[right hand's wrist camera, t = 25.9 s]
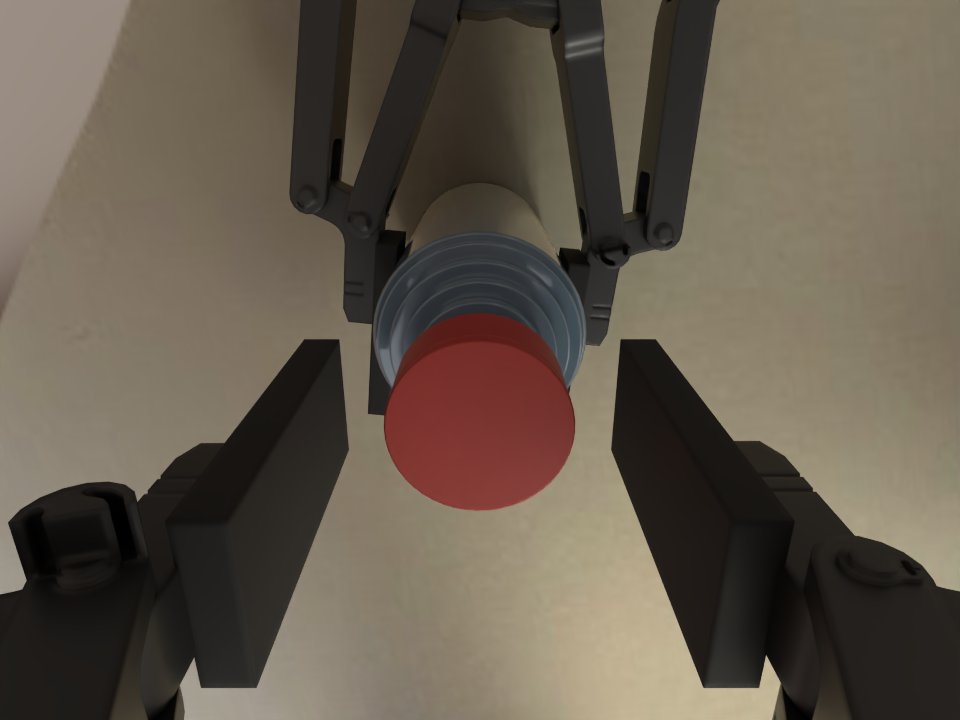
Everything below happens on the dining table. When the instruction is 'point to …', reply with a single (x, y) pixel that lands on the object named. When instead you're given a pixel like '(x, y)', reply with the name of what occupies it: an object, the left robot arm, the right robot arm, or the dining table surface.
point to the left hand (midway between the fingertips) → (466, 406)
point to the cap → (479, 413)
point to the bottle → (479, 277)
